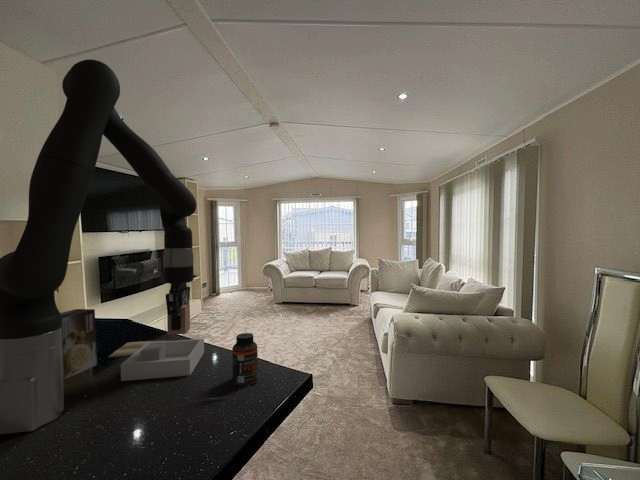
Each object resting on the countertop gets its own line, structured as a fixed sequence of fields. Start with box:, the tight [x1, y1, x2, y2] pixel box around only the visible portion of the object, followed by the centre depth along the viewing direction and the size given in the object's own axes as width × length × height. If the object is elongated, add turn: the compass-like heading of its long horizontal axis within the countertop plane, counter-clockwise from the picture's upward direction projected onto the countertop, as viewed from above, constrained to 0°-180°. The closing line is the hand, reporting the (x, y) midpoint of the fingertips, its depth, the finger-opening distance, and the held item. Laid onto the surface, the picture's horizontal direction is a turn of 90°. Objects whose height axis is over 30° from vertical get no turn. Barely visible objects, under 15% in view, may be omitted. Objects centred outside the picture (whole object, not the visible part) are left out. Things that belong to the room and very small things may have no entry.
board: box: [107, 339, 167, 359], centre depth 97 cm, size 12×12×1 cm
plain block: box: [141, 344, 165, 362], centre depth 83 cm, size 4×4×5 cm
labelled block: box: [166, 303, 191, 336], centre depth 84 cm, size 4×4×7 cm
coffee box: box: [60, 308, 98, 380], centre depth 81 cm, size 9×6×16 cm
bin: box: [120, 338, 205, 382], centre depth 84 cm, size 16×16×5 cm
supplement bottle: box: [231, 332, 259, 386], centre depth 74 cm, size 6×6×11 cm
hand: (179, 326), depth 84 cm, fingers closed on labelled block, 4 cm apart
